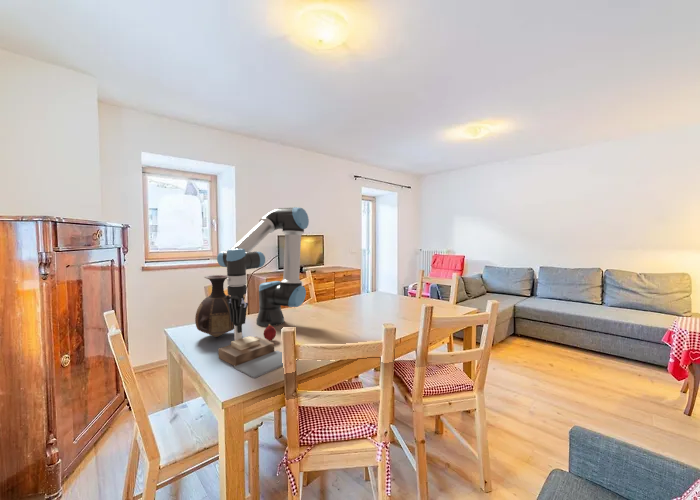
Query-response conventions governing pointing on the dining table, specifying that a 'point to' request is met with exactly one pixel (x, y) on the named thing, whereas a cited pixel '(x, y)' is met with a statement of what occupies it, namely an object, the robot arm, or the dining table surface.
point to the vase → (214, 310)
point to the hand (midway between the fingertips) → (238, 339)
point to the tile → (245, 342)
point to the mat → (261, 364)
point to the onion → (269, 333)
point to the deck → (245, 352)
